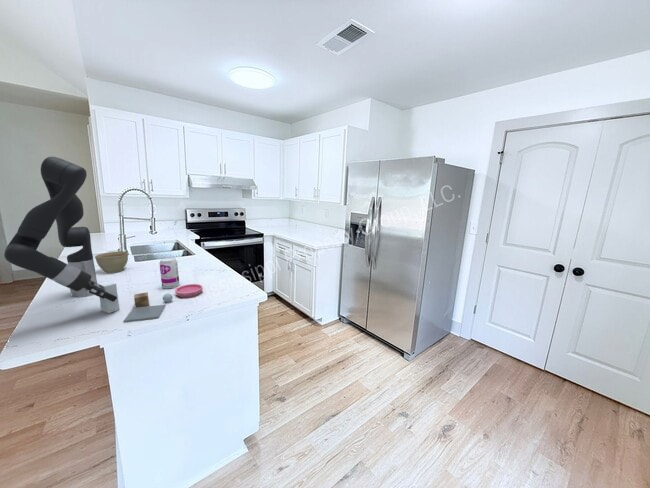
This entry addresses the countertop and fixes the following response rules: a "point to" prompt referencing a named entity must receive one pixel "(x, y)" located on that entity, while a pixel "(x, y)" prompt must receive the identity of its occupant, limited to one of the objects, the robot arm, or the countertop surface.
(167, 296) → the grey ball
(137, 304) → the walnut block
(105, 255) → the planter bowl
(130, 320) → the slate coaster
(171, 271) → the supplement can
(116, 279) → the countertop surface
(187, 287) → the saucer
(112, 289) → the skincare box
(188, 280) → the countertop surface
